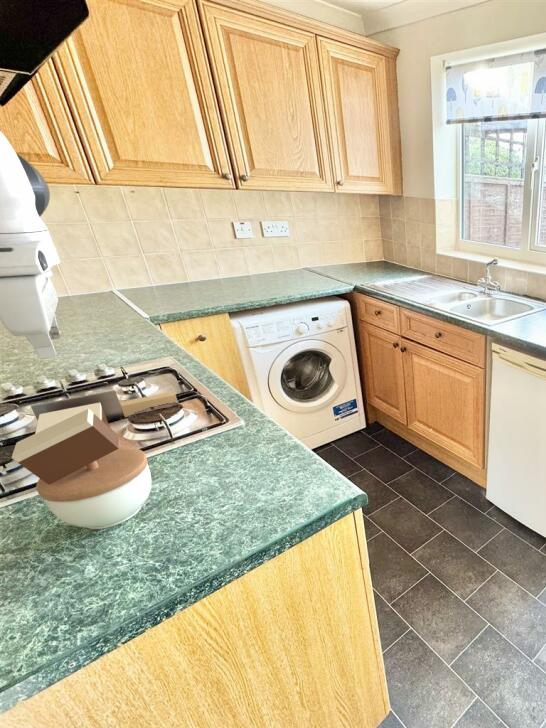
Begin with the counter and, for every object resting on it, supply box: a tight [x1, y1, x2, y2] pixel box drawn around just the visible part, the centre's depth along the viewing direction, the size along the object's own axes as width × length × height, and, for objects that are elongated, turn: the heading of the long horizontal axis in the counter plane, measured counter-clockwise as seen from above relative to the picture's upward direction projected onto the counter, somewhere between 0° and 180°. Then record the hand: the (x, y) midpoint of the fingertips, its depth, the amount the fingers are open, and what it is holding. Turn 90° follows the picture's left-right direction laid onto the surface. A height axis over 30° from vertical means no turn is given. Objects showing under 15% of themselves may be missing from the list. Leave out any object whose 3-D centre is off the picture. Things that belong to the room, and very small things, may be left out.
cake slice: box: [11, 409, 120, 485], centre depth 63 cm, size 9×5×6 cm, turn 130°
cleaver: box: [30, 389, 179, 421], centre depth 94 cm, size 23×2×6 cm, turn 131°
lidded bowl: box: [35, 446, 153, 530], centre depth 67 cm, size 13×13×11 cm
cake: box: [34, 403, 111, 434], centre depth 85 cm, size 9×10×6 cm
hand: (51, 347), depth 63 cm, fingers open, 8 cm apart
